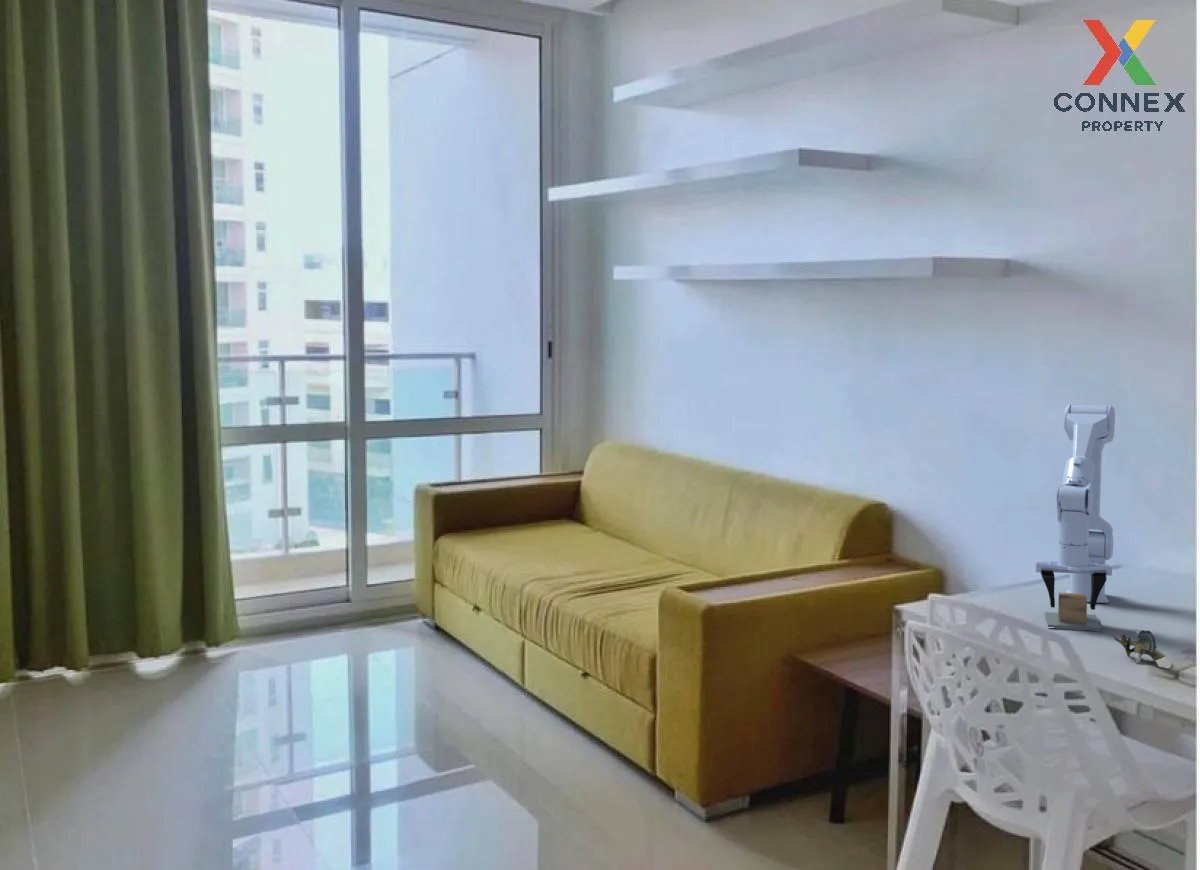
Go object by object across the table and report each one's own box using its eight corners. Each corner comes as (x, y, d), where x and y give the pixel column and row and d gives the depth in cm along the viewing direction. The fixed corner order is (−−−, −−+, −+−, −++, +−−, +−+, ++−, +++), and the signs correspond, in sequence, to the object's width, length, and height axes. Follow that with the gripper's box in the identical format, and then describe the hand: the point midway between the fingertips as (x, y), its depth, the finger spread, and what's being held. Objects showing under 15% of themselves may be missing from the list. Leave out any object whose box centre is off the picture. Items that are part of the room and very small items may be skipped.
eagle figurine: (1107, 655, 203) (1151, 658, 195) (1115, 619, 206) (1160, 621, 198) (1132, 671, 206) (1177, 675, 198) (1140, 636, 208) (1185, 638, 201)
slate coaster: (1044, 615, 235) (1044, 612, 234) (1095, 618, 231) (1095, 614, 231) (1048, 628, 225) (1048, 624, 225) (1101, 631, 222) (1101, 627, 222)
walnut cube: (1058, 615, 231) (1058, 592, 231) (1083, 617, 230) (1084, 593, 229) (1060, 621, 227) (1060, 598, 226) (1086, 623, 225) (1086, 599, 225)
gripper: (1037, 545, 225) (1036, 610, 226) (1114, 548, 220) (1113, 614, 222) (1035, 538, 232) (1034, 601, 233) (1110, 541, 227) (1108, 605, 228)
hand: (1072, 607), depth 228 cm, fingers open, 7 cm apart
